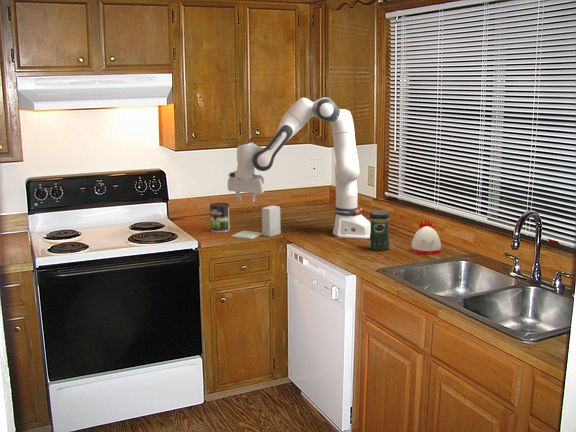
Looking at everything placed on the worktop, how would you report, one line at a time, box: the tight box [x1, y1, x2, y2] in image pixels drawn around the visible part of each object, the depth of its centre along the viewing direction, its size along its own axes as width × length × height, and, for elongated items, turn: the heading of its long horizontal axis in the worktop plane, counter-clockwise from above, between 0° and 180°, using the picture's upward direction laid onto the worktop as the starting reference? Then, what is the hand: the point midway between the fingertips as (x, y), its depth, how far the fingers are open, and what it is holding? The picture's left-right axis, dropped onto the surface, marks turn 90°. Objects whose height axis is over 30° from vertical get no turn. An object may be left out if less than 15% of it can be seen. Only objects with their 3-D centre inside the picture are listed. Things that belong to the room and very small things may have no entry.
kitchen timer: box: [410, 218, 442, 255], centre depth 304 cm, size 14×14×15 cm
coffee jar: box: [368, 209, 391, 251], centre depth 308 cm, size 10×8×19 cm
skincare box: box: [261, 204, 282, 238], centre depth 336 cm, size 8×6×15 cm
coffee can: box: [209, 202, 231, 233], centre depth 348 cm, size 10×10×14 cm
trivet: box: [230, 230, 263, 240], centre depth 337 cm, size 12×12×1 cm
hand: (246, 200), depth 333 cm, fingers open, 6 cm apart
